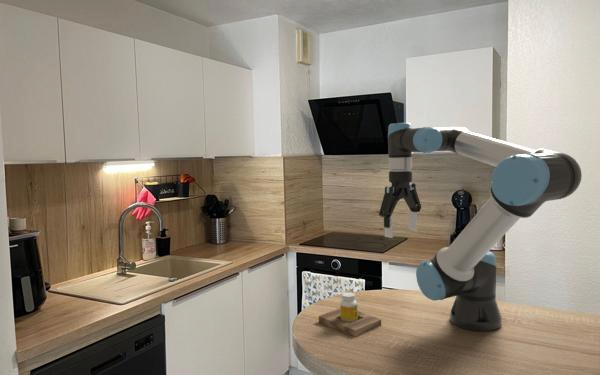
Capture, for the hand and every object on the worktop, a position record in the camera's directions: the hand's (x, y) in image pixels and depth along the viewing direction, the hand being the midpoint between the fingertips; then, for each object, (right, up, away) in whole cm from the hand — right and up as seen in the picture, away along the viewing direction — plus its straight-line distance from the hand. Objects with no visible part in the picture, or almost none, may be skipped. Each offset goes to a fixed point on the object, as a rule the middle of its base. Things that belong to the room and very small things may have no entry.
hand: (401, 233), depth 155 cm
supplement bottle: (-18, -28, -6) cm, 34 cm away
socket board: (-18, -28, -7) cm, 34 cm away
